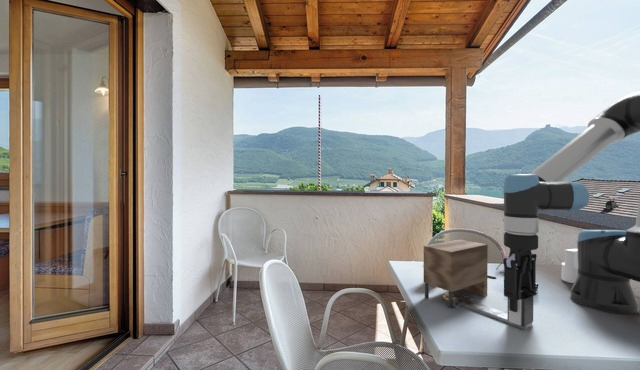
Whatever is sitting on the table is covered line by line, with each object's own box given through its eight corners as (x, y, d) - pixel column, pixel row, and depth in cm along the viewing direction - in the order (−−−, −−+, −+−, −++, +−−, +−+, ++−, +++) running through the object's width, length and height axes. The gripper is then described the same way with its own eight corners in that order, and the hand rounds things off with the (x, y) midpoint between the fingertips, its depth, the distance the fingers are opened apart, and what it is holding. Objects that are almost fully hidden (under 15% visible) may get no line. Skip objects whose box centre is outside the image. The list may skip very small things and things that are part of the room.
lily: (507, 278, 117) (521, 259, 115) (481, 261, 126) (494, 242, 125) (518, 281, 124) (531, 263, 122) (492, 265, 133) (504, 247, 132)
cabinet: (487, 294, 97) (487, 244, 97) (451, 308, 87) (451, 252, 86) (459, 285, 106) (459, 239, 106) (423, 297, 95) (423, 245, 95)
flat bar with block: (535, 323, 77) (535, 294, 77) (521, 332, 73) (521, 300, 73) (464, 298, 94) (464, 274, 94) (449, 304, 90) (449, 278, 90)
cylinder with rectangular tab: (581, 286, 105) (582, 253, 105) (555, 278, 114) (555, 248, 114) (598, 283, 108) (599, 251, 108) (572, 276, 117) (572, 246, 116)
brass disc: (458, 300, 94) (458, 296, 94) (451, 303, 91) (451, 299, 91) (447, 296, 97) (447, 292, 97) (440, 298, 95) (440, 295, 95)
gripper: (520, 227, 85) (520, 307, 85) (488, 233, 75) (487, 323, 75) (551, 231, 78) (551, 317, 79) (520, 238, 69) (520, 336, 69)
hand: (520, 319), depth 77 cm, fingers closed on flat bar with block, 5 cm apart
